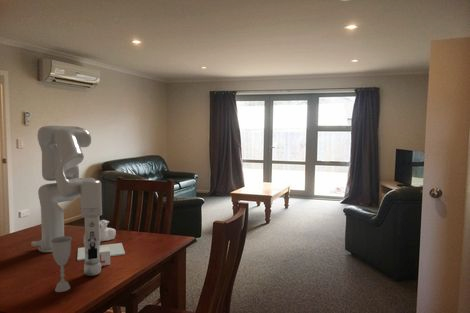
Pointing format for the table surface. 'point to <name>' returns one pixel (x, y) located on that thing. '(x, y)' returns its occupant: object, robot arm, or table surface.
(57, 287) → the chalice
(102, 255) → the lettered cube
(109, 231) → the bust
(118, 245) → the sage mat
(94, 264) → the metal bottle
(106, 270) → the table surface
